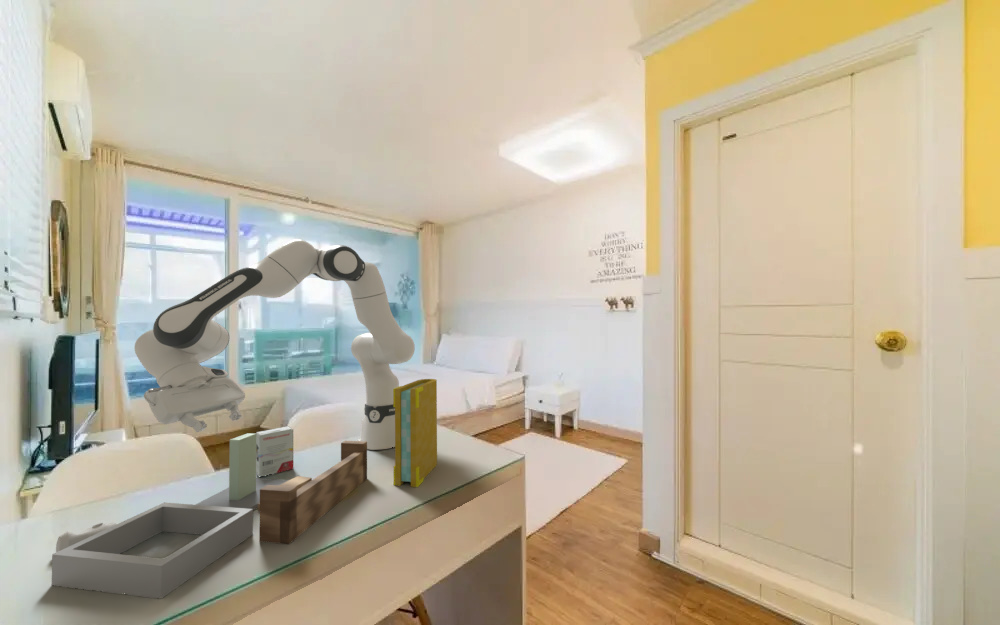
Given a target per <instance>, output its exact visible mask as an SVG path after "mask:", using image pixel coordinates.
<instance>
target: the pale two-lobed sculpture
mask: <svg viewBox="0 0 1000 625" xmlns="http://www.w3.org/2000/svg"><path fill="white" fill-rule="evenodd" d="M117 524H118V523H116V522H108V523H103V522H100V523H97V524H95V525H92V526H91V527H90V528H87V529H85V530H83V531H81V532H77V533H73V532H70V531H65V532H64V533H62V534H60V536H58V537H57V541H56V544H55V545H56V547H55V553H56V552H58V551H61V550H63V549H65V548H67V547H69V546H71V545H74V544H76V543H78V542H80V541H82V540H84V539H87V538H89V537H91V536H93V535H95V534H97V533H99V532H102V531H104V530H106V529H108V528H110V527H112V526H115V525H117Z"/></svg>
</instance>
